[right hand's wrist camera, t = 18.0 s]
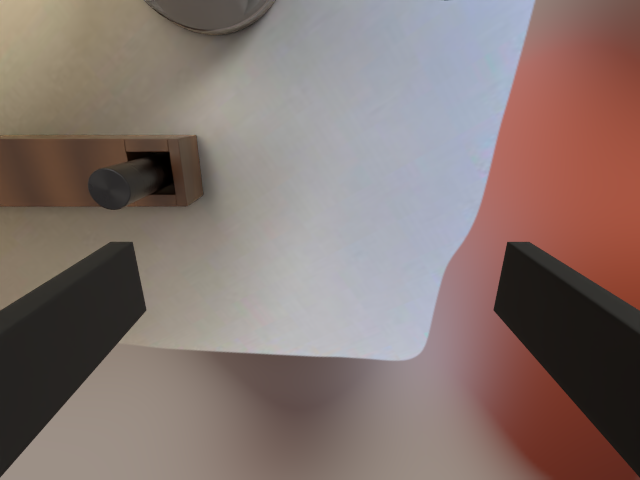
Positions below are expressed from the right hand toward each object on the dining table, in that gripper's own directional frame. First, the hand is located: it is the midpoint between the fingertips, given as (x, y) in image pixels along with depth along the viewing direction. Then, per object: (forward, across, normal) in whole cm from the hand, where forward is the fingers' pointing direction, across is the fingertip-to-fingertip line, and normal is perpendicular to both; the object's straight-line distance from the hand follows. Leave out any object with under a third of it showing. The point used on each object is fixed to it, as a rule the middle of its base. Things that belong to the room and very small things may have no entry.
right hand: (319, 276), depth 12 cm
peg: (+27, -16, 0) cm, 31 cm away
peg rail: (+27, -26, 0) cm, 37 cm away
